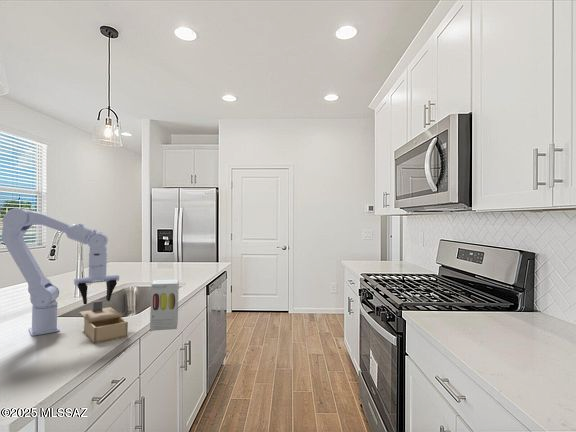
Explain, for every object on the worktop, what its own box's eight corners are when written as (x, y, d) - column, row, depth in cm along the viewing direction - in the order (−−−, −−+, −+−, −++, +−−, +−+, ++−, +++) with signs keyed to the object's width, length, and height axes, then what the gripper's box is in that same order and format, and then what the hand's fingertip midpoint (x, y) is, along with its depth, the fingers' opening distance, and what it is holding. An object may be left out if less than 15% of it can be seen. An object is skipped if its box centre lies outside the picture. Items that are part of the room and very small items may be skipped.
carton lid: (79, 313, 122) (79, 302, 122) (110, 308, 129) (110, 298, 129) (88, 322, 112) (88, 310, 112) (122, 316, 119) (122, 305, 119)
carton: (84, 332, 117) (84, 318, 117) (115, 327, 124) (115, 313, 124) (94, 343, 107) (94, 328, 107) (127, 336, 113) (127, 321, 113)
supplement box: (149, 331, 119) (150, 283, 120) (152, 323, 128) (152, 279, 128) (177, 329, 122) (178, 282, 122) (178, 321, 131) (179, 278, 131)
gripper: (77, 268, 116) (76, 307, 116) (122, 264, 126) (121, 301, 126) (73, 266, 122) (72, 303, 121) (116, 263, 132) (115, 297, 131)
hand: (96, 302), depth 124 cm, fingers open, 7 cm apart
